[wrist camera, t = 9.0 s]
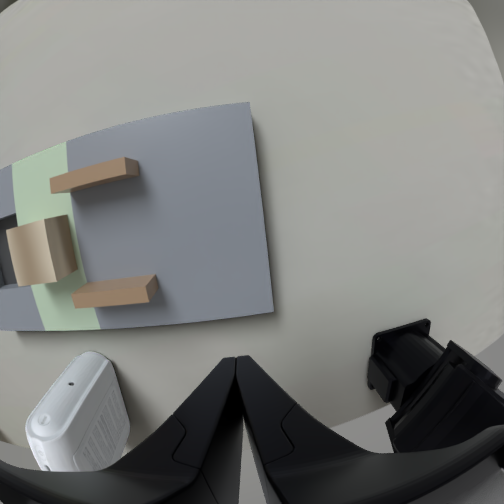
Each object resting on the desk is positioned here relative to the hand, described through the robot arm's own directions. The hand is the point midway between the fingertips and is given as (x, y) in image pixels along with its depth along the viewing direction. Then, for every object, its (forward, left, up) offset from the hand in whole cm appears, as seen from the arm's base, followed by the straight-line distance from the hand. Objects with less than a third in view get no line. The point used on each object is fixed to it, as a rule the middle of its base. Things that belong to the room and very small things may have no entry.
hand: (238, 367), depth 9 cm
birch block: (+13, -4, -10) cm, 17 cm away
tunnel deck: (+11, -4, -12) cm, 17 cm away
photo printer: (+14, +11, -12) cm, 22 cm away
